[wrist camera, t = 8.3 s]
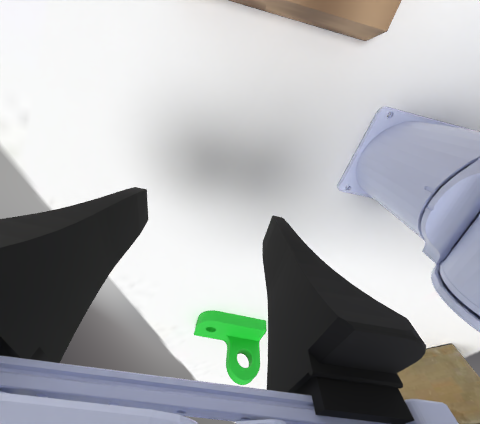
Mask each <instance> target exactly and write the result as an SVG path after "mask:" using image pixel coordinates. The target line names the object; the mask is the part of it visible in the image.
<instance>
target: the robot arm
mask: <svg viewBox="0 0 480 424" xmlns="http://www.w3.org/2000/svg"><path fill="white" fill-rule="evenodd" d="M389 112H390V113H391V114H390V116H389V117H388V118H387V114H388V113H389ZM347 186H349V187H348V188H347V189H346V187H347ZM337 187H338V189H339V190H340V191H343V192H348V193H352V194H357V195H361V196H366V197H370V198H374V199H375V200H376V201H378V202H379V203H380V204H381V205H382V206H384V207H385V208H386V209H387V210H388V211H390V212H391V213H392V214H393V215H394V216H396V217H397V218H398V219H399V220H401V221H402V222H403V223H404V224H405V225H407V226H408V227H409V228H410V229H411V230H413V231H414V232H415V233H416V234H418V235H419V236H420V237H421V238H422V239H424V240H425V247H424V249H423V252H424V253H425V254H426V255H427V256H428V257H429V258H430V259H431V260H432V261H434V262H435V263H436V266H435V267H434V269H433V271H432V274H431V279H432V283H433V286H434V288H435V290H436V291H437V293H438V294H439V296H440V297H441V298H442V300H443V301H444V302H445V303H446V304H447V305H448V306H449V307H450V308H451V309H452V310H453V311H454V312H455V313H456V314H457V315H458V316H459V317H461V318H462V319H463V320H464V321H465V322H467V323H468V324H469V325H470V326H472V327H473V328H475V329H476V330H477V331H479V332H480V131H476V130H471V129H467V128H463V127H460V126H456V125H452V124H449V123H445V122H441V121H438V120H434V119H430V118H426V117H423V116H419V115H415V114H412V113H408V112H404V111H400V110H397V109H393V108H389V107H382V108H380V109H379V110H378V111H377V113H376V115H375V117H374V119H373V121H372V122H371V124H370V126H369V128H368V130H367V132H366V134H365V135H364V137H363V139H362V141H361V143H360V145H359V147H358V148H357V150H356V152H355V154H354V156H353V158H352V159H351V161H350V163H349V165H348V167H347V169H346V171H345V172H344V174H343V176H342V178H341V180H340V182H339V184H338V186H337ZM147 221H148V206H147V190H146V189H141V188H137V187H134V188H130V189H126V190H123V191H120V192H116V193H113V194H110V195H107V196H104V197H101V198H98V199H94V200H91V201H87V202H84V203H80V204H77V205H73V206H69V207H65V208H61V209H56V210H51V211H47V212H42V213H37V214H30V215H24V216H18V217H12V218H6V219H0V424H198V423H197V421H194V420H192V419H189V418H187V417H184V416H190V417H199V418H208V419H217V420H226V421H234V422H236V423H235V424H459V423H458V422H457V420H456V419H455V417H454V416H453V414H452V413H451V411H450V409H449V408H448V406H447V405H446V404H444V403H442V402H435V401H428V400H420V399H406V400H404V399H403V397H402V395H401V393H400V391H399V389H398V388H402V387H403V383H402V381H401V379H400V378H399V376H398V374H397V373H398V372H400V371H402V370H404V369H405V368H407V367H409V366H410V365H412V364H414V363H416V362H417V361H418V360H420V359H421V358H422V357H423V355H424V354H425V351H426V345H425V344H424V342H423V341H422V339H421V338H420V336H419V335H418V333H417V332H416V331H415V329H414V328H413V326H412V325H411V323H410V322H409V320H408V319H407V318H405V317H403V316H402V315H400V314H398V313H397V312H395V311H393V310H392V309H390V308H388V307H386V306H385V305H383V304H381V303H380V302H378V301H376V300H375V299H373V298H372V297H370V296H369V295H367V294H366V293H364V292H363V291H361V290H360V289H358V288H357V287H355V286H354V285H352V284H351V283H350V282H348V281H347V280H346V279H344V278H343V277H342V276H340V275H339V274H338V273H336V272H335V271H334V270H333V269H332V268H330V267H329V266H328V265H327V264H326V263H325V262H324V261H322V260H321V259H320V258H319V257H318V256H317V255H316V254H315V253H314V252H313V251H312V250H311V249H310V248H309V247H308V246H307V245H306V244H305V243H304V242H303V240H302V239H301V238H300V237H299V236H298V235H297V234H296V232H295V231H294V230H293V229H292V228H291V226H290V225H289V224H288V223H287V222H286V221H285V220H284V219H283V218H282V217H277V216H272V219H271V221H270V224H269V227H268V229H267V232H266V235H265V237H264V240H263V264H264V272H265V280H266V287H267V297H268V372H267V390H264V389H256V388H248V387H241V386H233V385H225V384H217V383H209V382H202V381H194V380H186V379H178V378H170V377H163V376H155V375H147V374H140V373H132V372H124V371H116V370H108V369H100V368H93V367H85V366H77V365H69V364H62V363H60V361H61V359H62V357H63V355H64V353H65V351H66V349H67V347H68V345H69V343H70V341H71V339H72V337H73V335H74V333H75V332H76V330H77V328H78V326H79V324H80V322H81V321H82V319H83V317H84V315H85V314H86V312H87V309H88V308H89V306H90V305H91V303H92V301H93V300H94V298H95V296H96V295H97V293H98V291H99V290H100V288H101V286H102V285H103V283H104V282H105V280H106V279H107V277H108V275H109V274H110V272H111V271H112V269H113V268H114V267H115V265H116V264H117V263H118V262H119V260H120V259H121V258H122V256H123V255H124V254H125V253H126V251H127V250H128V249H129V248H130V246H131V245H132V244H133V243H134V241H135V240H136V239H137V237H138V236H139V235H140V233H141V232H142V230H143V228H144V226H145V225H146V223H147Z"/></svg>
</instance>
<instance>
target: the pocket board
mask: <svg viewBox="0 0 480 424" xmlns="http://www.w3.org/2000/svg"><path fill="white" fill-rule="evenodd" d="M230 1H233V2H236V3H240V4H243V5H247V6H250V7H253V8H257V9H260V10H263V11H267V12H270V13H273V14H277V15H280V16H283V17H287V18H290V19H294V20H297V21H300V22H304V23H307V24H310V25H314V26H317V27H320V28H324V29H327V30H331V31H334V32H337V33H341V34H344V35H347V36H351V37H354V38H357V39H361V40H364V41H367V40H369V39H371V38H374V37H376V36H378V35H380V34H382V33H384V32H387V30H388V28H389V26H390V24H391V22H392V19H393V17H394V15H395V13H396V11H397V9H398V7H399V4H400V2H401V0H230Z"/></svg>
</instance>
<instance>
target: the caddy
mask: <svg viewBox="0 0 480 424" xmlns="http://www.w3.org/2000/svg"><path fill="white" fill-rule="evenodd" d="M397 374H398V376H399V378H400V379H401V381H402V383H403V387H402V388H398V389H399V391H400V393H401V395H402V397H403V399H404V400H406V399H420V400H428V401H435V402H442V403H444V404H446V405H447V406H448V408H449V409H450V411H451V413H452V414H453V416H454V417H455V419H456V420H457V422H458V423H459V424H480V377H479V376H478V375H477V374H476V372H475V371H474V370H473V369H472V367H471V366H470V365H469V364H468V363H467V361H466V360H465V359H464V358H463V356H462V355H461V354H460V353H459V351H458V350H457V349H456V348H455V346H454V345H453V344H449V345H444V346H440V347H434V348H429V349H426V351H425V354H424V355H423V357H422V358H421V359H420V360H418V361H417V362H416V363H414V364H412V365H410V366H409V367H407V368H405V369H404V370H402V371H400V372H398V373H397Z"/></svg>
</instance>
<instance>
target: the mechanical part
mask: <svg viewBox="0 0 480 424" xmlns="http://www.w3.org/2000/svg"><path fill="white" fill-rule="evenodd" d="M265 332H266V321H265V320H260V319H255V318H250V317H245V316H240V315H235V314H230V313H225V312H220V311H206V312H203V313H201V314H200V315H199V317H198V321H197V324H196V328H195V332H194V335H197V336H202V337H208V338H213V339H219V340H223V341H225V342H226V344H227V358H226V368H227V372H228V374H229V376H230V378H231V379H232V380H233V381H234V382H235V383H237V384H239V385H246V384H248V383H250V382H251V381H252V380H253V379H254V377H255V376H256V375H257V373H258V371H259V368H260V351H259V341H260V339H261V338H262V337H263V335H264V334H265ZM239 353H242V354H244V355H246V357H247V358H248V361H249V367H248V368H243V367H241V366H240V365H239V363H238V361H237V354H239Z"/></svg>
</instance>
